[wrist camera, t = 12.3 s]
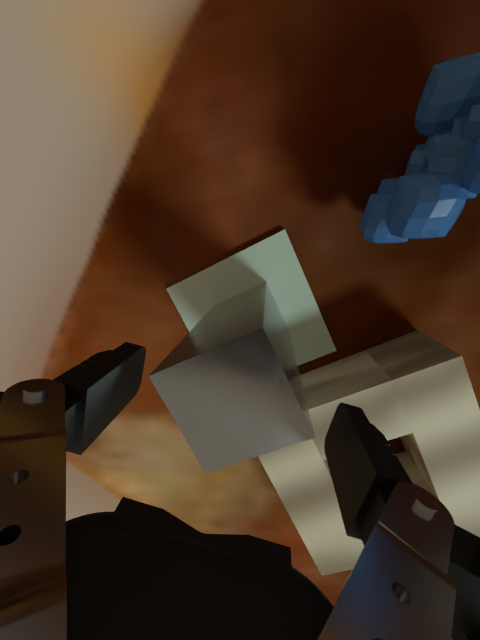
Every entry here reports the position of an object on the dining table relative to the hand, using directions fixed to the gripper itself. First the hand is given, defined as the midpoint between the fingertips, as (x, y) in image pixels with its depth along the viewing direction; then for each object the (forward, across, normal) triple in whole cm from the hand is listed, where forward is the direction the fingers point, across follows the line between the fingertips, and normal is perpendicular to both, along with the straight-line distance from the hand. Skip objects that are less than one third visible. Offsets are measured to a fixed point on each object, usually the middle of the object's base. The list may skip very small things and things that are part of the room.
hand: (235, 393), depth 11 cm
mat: (+11, 0, 0) cm, 11 cm away
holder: (+11, -11, +7) cm, 17 cm away
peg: (+11, 0, 0) cm, 11 cm away
